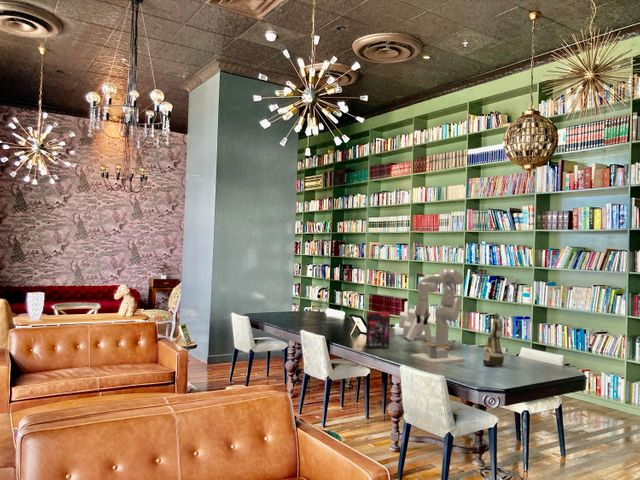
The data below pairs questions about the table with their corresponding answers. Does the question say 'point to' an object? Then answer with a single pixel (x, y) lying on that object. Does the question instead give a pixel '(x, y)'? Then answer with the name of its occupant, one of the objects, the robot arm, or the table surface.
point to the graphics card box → (377, 329)
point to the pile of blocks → (413, 325)
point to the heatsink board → (440, 360)
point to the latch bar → (437, 345)
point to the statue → (494, 345)
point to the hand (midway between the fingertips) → (421, 323)
